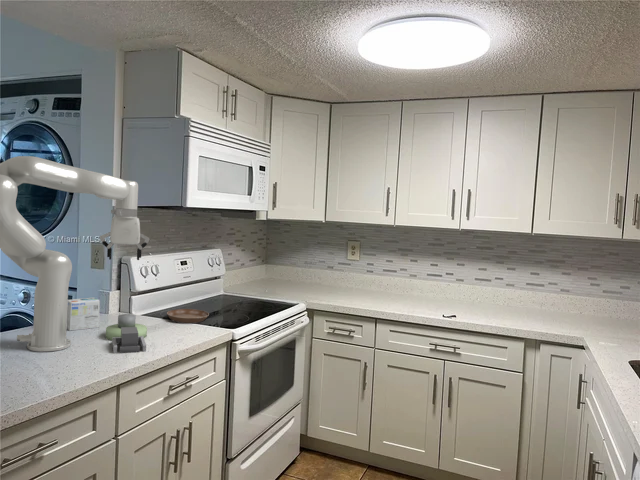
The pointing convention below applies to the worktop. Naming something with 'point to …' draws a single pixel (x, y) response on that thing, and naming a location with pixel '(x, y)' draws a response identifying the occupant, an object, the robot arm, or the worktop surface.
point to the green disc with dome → (125, 321)
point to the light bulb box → (83, 313)
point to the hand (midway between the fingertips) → (124, 259)
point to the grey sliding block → (129, 340)
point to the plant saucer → (187, 315)
